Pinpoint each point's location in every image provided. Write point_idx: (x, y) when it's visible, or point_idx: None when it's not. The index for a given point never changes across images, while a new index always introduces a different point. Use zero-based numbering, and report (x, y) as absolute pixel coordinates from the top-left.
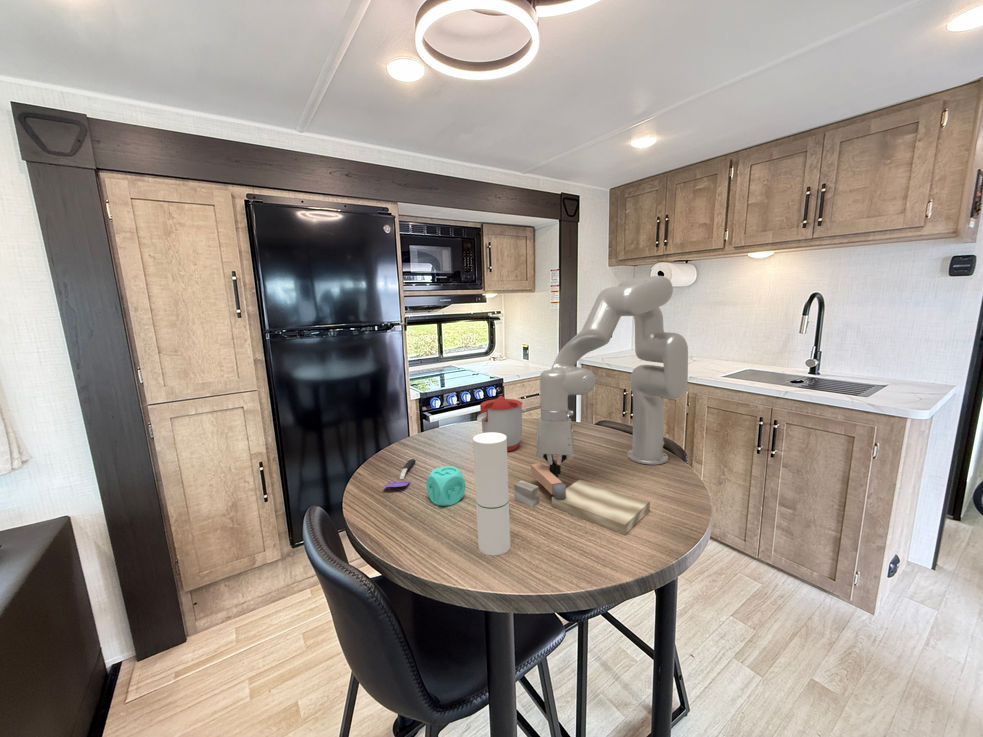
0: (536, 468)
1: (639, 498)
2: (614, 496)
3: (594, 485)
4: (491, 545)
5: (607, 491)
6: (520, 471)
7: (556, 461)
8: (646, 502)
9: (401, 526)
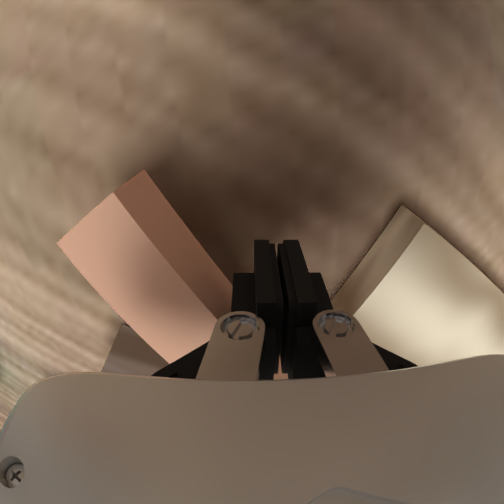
0: (123, 308)
1: None
2: (489, 342)
3: (468, 280)
4: None
5: (488, 317)
6: (32, 64)
7: (300, 377)
8: None
9: (3, 418)
